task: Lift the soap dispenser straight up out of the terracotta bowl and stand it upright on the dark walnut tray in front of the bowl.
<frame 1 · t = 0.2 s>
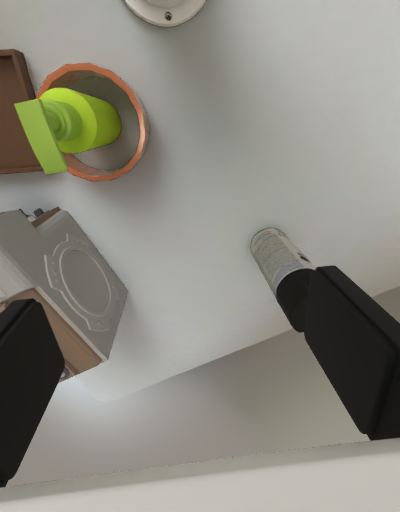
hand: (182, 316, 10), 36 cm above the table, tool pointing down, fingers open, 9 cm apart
soap dispenser: (101, 126, 39), resting in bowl
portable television: (66, 258, 48), on the table
spray can: (267, 244, 49), on the table
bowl: (101, 126, 39), on the table
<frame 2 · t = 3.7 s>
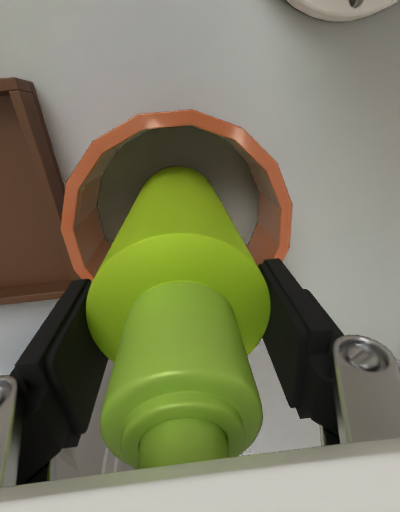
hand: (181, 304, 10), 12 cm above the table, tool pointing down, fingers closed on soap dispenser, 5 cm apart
soap dispenser: (179, 213, 21), resting in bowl, touching gripper
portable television: (103, 403, 29), on the table
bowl: (180, 213, 21), on the table
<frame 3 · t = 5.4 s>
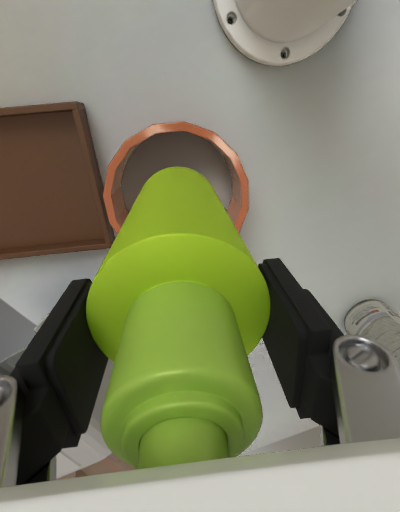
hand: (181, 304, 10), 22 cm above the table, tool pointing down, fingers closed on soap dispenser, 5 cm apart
soap dispenser: (179, 213, 21), point 10 cm above the table, touching gripper
tray: (13, 187, 29), on the table
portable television: (119, 341, 39), on the table
spray can: (363, 317, 40), on the table
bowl: (177, 191, 30), on the table
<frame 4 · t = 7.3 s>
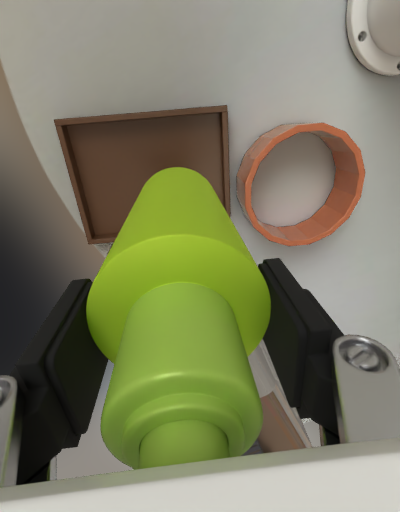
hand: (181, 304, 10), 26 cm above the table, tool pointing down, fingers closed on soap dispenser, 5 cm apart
soap dispenser: (180, 213, 21), point 14 cm above the table, touching gripper
tray: (153, 178, 34), on the table
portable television: (214, 315, 44), on the table
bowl: (288, 181, 35), on the table
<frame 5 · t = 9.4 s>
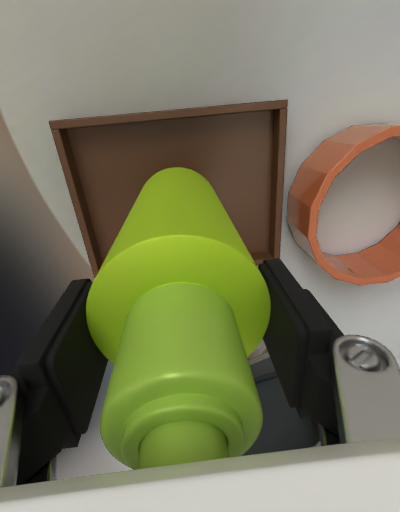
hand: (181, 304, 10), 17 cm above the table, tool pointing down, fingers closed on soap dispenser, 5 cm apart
soap dispenser: (179, 213, 21), point 5 cm above the table, touching gripper
tray: (180, 196, 26), on the table
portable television: (248, 359, 36), on the table
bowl: (354, 199, 27), on the table
when the fingers open (12 cm above the table, at t = 11.1 s): soap dispenser stays where it is, resting on tray.
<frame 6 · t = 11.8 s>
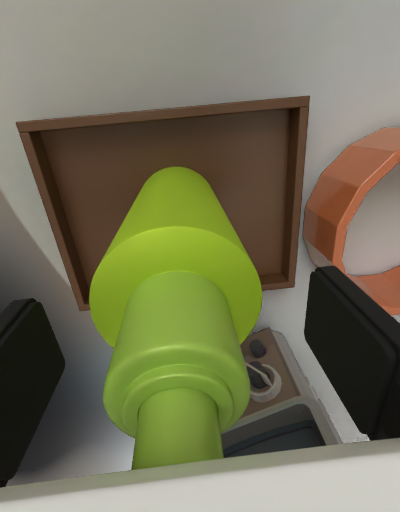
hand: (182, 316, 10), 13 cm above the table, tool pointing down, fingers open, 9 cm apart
soap dispenser: (179, 211, 21), resting on tray
tray: (178, 211, 22), on the table
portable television: (255, 389, 32), on the table
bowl: (381, 213, 23), on the table
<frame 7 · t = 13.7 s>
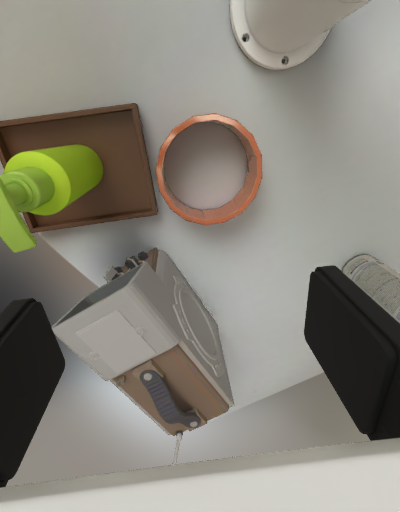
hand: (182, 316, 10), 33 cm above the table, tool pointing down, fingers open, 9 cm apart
soap dispenser: (83, 171, 38), resting on tray
tray: (83, 171, 38), on the table
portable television: (159, 296, 48), on the table
spray can: (357, 270, 49), on the table
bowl: (206, 168, 39), on the table
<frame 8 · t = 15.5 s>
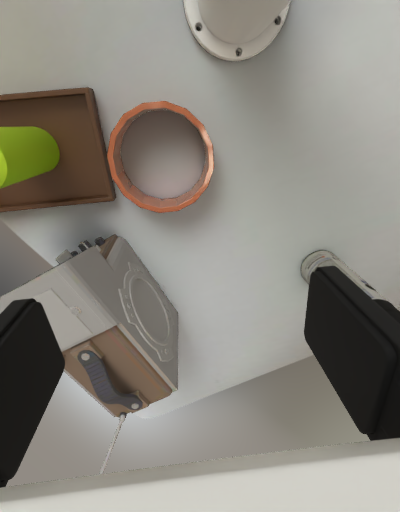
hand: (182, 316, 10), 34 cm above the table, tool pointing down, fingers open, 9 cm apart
soap dispenser: (39, 153, 38), resting on tray
tray: (40, 153, 38), on the table
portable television: (119, 283, 48), on the table
spray can: (317, 265, 50), on the table
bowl: (163, 157, 40), on the table
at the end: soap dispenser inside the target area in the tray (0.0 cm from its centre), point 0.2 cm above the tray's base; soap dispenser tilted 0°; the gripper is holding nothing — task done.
